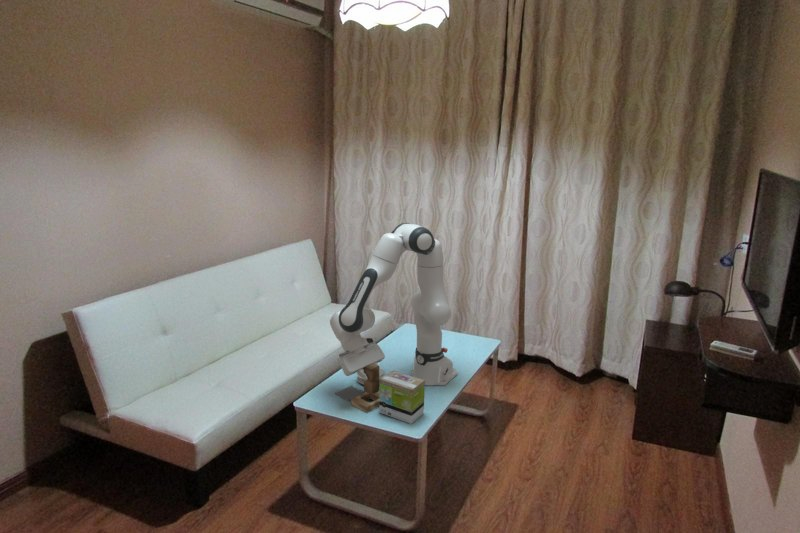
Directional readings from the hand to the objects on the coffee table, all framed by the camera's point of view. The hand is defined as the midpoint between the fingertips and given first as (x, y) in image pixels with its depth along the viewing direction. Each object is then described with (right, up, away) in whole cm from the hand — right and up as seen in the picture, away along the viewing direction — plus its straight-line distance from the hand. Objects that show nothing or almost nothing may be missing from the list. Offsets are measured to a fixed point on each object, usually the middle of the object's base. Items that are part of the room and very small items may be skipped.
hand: (372, 376), depth 207 cm
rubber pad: (-10, -9, +10) cm, 17 cm away
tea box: (+12, -14, -4) cm, 18 cm away
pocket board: (-1, -11, +3) cm, 12 cm away
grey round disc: (-2, -7, +23) cm, 24 cm away
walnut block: (0, -6, +2) cm, 6 cm away
